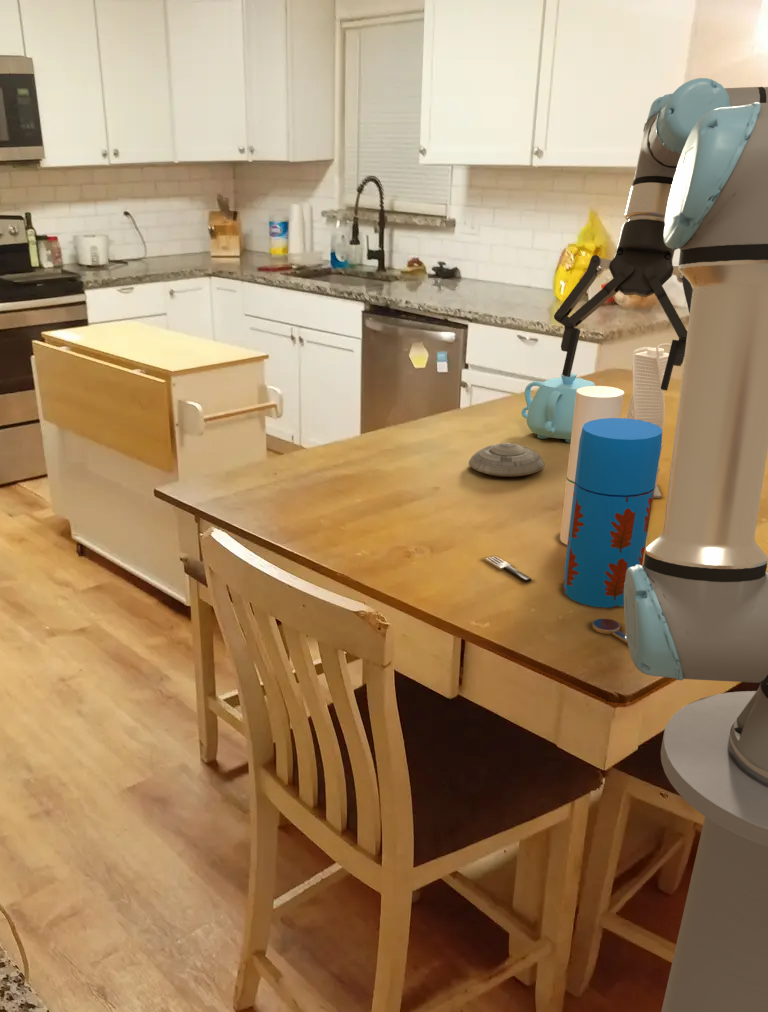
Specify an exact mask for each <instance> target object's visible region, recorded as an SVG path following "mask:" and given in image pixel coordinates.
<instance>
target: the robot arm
mask: <svg viewBox="0 0 768 1012" xmlns="http://www.w3.org/2000/svg"><path fill="white" fill-rule="evenodd" d="M639 149H640V150H639V154H638V159H637V161H636V162H637V163H636V168H635V172H634V176H633V181H632V185H631V186H630V191H629V194H628V199H627V204H626V209H625V213H624V218H625V220H626V221H625V222H624V223H623V224H622V226H621V229H620V230H621V231H620V234H619V238H618V243H617V247H616V250H615V251H616V252H615V254H614V257H612V259H608V258H607V259H606V258H603V257H600V256H599V255H598V254H594V255H593V256H591V258H590V260H589V263H588V266H587V268H586V271H585V272H584V274H583V275H582V277H581V278H580V279H579V281H578V282H577V283H576V285H575V286H574V287H573V289H572V290H571V291H570V292H569V294H568V295H567V297H566V298H565V299H564V301H563V302H562V304H561V305H560V306H559V307H558V309H557V311H556V312H554V315H553V318H554V321H556V322H557V323H558V324H561V325H562V326H563V327H564V330H563V333H562V338H561V344H560V350H561V351H562V352H566V355H565V359H564V364H563V369H562V373H561V374H562V375H564V376H566V377H570V375H571V373H572V371H573V370H572V369H573V367H574V366H573V365H574V361H575V357H576V352H577V348H578V343H579V339H580V335H581V330H580V329H579V328H577V327H578V326H579V325H580V324H581V323H582V322H584V321H585V320H586V319H588V318H589V317H590V316H591V315H592V314H593V313H594V312H596V311H597V310H598V309H599V308H600V307H601V306H602V305H604V304H605V303H606V302H607V301H608V300H609V299H610V298H612V297H614V296H615V295H616V294H617V293H621V294H623V296H634V295H635V296H638V297H641V298H648V297H650V296H652V295H654V296H655V297H656V300H657V301H658V303H659V305H660V307H661V308H662V310H663V312H664V314H665V316H666V318H667V319H668V321H669V323H670V324H671V326H672V328H673V330H674V332H675V334H676V335H677V337H678V339H672V341H671V343H670V344H671V347H670V348H669V352H668V353H669V356H668V360H667V364H666V368H665V372H664V376H663V380H662V384H661V390H664V391H668V388H669V385H670V381H671V377H672V373H673V369H674V366H676V367H681V366H682V374H681V383H680V390H679V398H678V406H677V414H676V415H677V416H676V422H675V431H674V440H673V447H672V448H673V449H672V455H671V463H670V470H669V471H670V472H669V479H668V487H667V488H668V489H667V495H666V496H667V498H666V504H665V514H664V519H663V520H664V521H663V522H664V523H663V528H662V529H663V530H662V533H661V534H660V535H659V536H658V537H656V538H655V539H653V541H651V542H650V543H648V545H646V546H645V551H644V557H643V564H642V566H641V565H638V564H637V565H635V566H632V567H630V568H628V570H627V571H626V578H625V583H624V606H623V613H624V625H625V634H626V635H627V641H628V644H627V646H628V651H629V655H630V658H631V660H632V663H633V665H634V667H636V669H638V671H639V672H640V673H642V674H644V675H647V676H649V677H650V676H651V677H659V678H668V679H669V678H670V679H676V680H677V681H683V680H693V681H694V680H695V681H696V680H698V681H713V682H714V681H716V682H736V683H755V684H759V687H758V688H757V690H755V691H756V693H755V694H754V695H753V697H752V698H751V700H750V701H749V702H748V704H747V705H746V707H745V708H744V709H743V711H742V712H741V714H740V715H739V716H738V718H737V719H736V721H735V722H734V723H733V725H732V727H731V731H730V735H729V740H728V745H727V748H728V752H729V755H730V757H731V759H732V761H733V762H734V763H735V764H736V766H737V767H738V768H739V769H740V770H741V771H742V772H744V773H745V774H746V775H747V776H749V777H750V778H752V779H753V780H755V781H757V782H758V783H760V784H762V785H764V786H766V787H768V570H767V568H768V554H767V553H766V552H765V551H764V550H763V549H762V548H761V547H760V545H758V543H757V542H756V540H755V536H756V530H757V529H756V528H757V523H758V515H759V509H760V505H761V504H760V503H761V497H762V490H763V483H764V478H765V477H764V476H765V470H766V464H767V458H768V86H743V87H742V86H741V87H740V86H739V87H724V86H723V85H722V84H721V83H719V82H718V81H717V80H713V78H707V77H698V78H694V79H690V80H688V81H686V82H684V83H683V84H681V85H680V86H678V88H676V90H675V91H673V92H672V93H667V94H664V95H663V96H659V97H657V98H656V99H655V100H654V101H653V102H652V103H651V105H650V108H649V111H648V114H647V118H646V122H645V123H644V126H643V135H642V140H641V145H640V148H639ZM678 249H679V259H678V265H673V261H674V260H673V259H674V254H675V251H676V250H678ZM607 270H609V272H610V274H611V276H612V278H611V280H610V281H608V282H607V283H606V284H605V285H604V286H603V288H602V289H600V290H599V291H598V292H597V293H595V295H593V296H592V297H591V298H590V299H589V300H588V301H586V302H585V303H584V304H583V305H582V306H580V308H578V309H577V310H576V311H575V312H574V313H573V314H571V313H572V311H573V310H574V309H575V308H576V306H577V305H578V304H579V302H580V301H581V299H582V298H583V297H584V295H585V294H586V293H587V291H588V290H589V289H590V287H591V286H592V285H593V283H594V282H595V280H596V279H597V277H598V276H601V275H602V274H604V272H605V271H607ZM672 276H675V277H676V281H677V282H678V283H679V284H682V289H683V293H684V297H685V301H686V305H687V309H688V313H689V317H688V325H687V328H686V327H685V325H684V322H683V321H682V320H681V317H680V315H679V314H678V312H677V310H676V309H675V306H674V305H673V303H672V301H671V299H670V298H669V296H668V293H667V292H666V290H665V288H664V287H663V285H664V284H666V283H667V281H668V280H669V279H670V278H672ZM570 314H571V315H570Z"/></svg>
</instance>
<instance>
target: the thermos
mask: <svg viewBox="0 0 768 1012" xmlns="http://www.w3.org/2000/svg"><path fill="white" fill-rule="evenodd" d="M661 444H662V445H663V434H662V429H661V428H660V427H659V426H657V425H655V424H653V423H650V422H646V421H641V420H635V419H627V418H626V417H624V418H623V417H621V418H606V419H597V420H592V421H589V422H587V423H585V424H584V426H583V428H582V432H581V436H580V441H579V450H578V458H577V467H576V475H575V484H574V492H573V501H572V510H571V518H570V527H569V535H568V544H567V545H566V552H565V553H566V554H565V563H564V573H563V575H564V576H563V592H564V594H565V596H567V597H568V598H569V599H571V600H572V601H574V602H577V603H579V604H582V605H586V606H590V607H594V608H607V609H608V608H609V609H610V608H618V607H624V583H625V578H626V571H627V570H628V568H630V567H632V566H635V565H637V564H638V565H641V566H643V564H644V557H645V549H646V546H647V539H648V532H649V525H650V519H651V512H652V507H653V502H654V501H653V500H654V498H653V495H654V488H655V482H656V476H657V470H658V463H659V464H660V461H659V457H660V458H661V456H660V451H661ZM661 452H662V451H661Z"/></svg>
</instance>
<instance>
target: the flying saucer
mask: <svg viewBox="0 0 768 1012" xmlns="http://www.w3.org/2000/svg"><path fill="white" fill-rule="evenodd" d="M468 465H469V466H470V468H472V469H473V470H475V471H477V472H479V473H482V474H485V475H488V476H495V477H503V478H504V477H505V478H507V477H508V478H517V477H523V476H524V477H525V476H529V475H533V474H535V473H537V472H539V471H541V470H542V469H543V468H544V467H545V461H544V459H543V458H542V457H541V456H540V455H539V453H537V452H536V451H534V450H533V449H531V448H529V447H527V446H524V445H521V444H518V443H513V442H501V443H496V444H491V445H488V446H486V447H485V446H484V447H483V448H480V449H479V450H477V451H476V452H475V453H474V454H473V455H472V456H471V457H470V458H469V460H468Z"/></svg>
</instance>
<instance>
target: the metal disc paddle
mask: <svg viewBox="0 0 768 1012" xmlns="http://www.w3.org/2000/svg"><path fill="white" fill-rule="evenodd" d="M620 628H621V624H620V623H619V622H618V621H616V620H614V619H611V618H597V619H595V620H594V621H593V622H592V629H593V630H594V631H596V632H597V633H600V634H604V635H612V636H614V637H615V638H617V639H618V640H620V641H622V642H623V643H625V644H627V645H628V641H627V635H626V633H624V632H623V631H621V630H620Z"/></svg>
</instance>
